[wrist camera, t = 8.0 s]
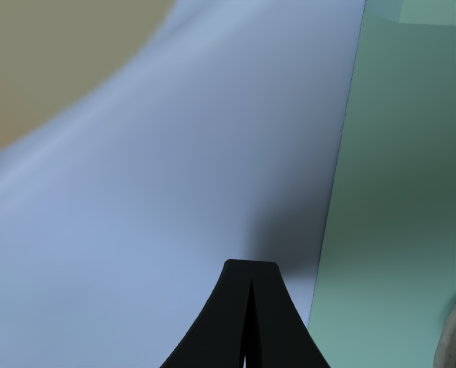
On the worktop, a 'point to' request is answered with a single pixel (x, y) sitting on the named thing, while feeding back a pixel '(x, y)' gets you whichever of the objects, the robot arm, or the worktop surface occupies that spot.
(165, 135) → the worktop surface
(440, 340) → the ceramic mug
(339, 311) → the tray
